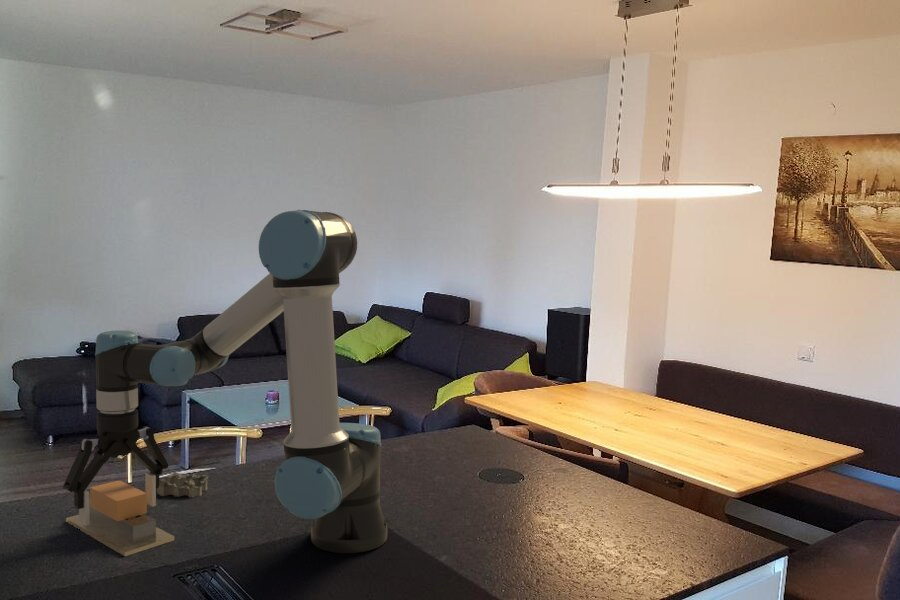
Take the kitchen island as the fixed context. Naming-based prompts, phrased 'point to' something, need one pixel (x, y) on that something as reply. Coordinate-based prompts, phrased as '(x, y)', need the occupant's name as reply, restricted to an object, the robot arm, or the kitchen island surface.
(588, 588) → the kitchen island surface
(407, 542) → the kitchen island surface
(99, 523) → the beige grey stepped block
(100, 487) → the orange toy brick
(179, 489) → the egg carton
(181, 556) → the kitchen island surface
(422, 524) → the kitchen island surface
